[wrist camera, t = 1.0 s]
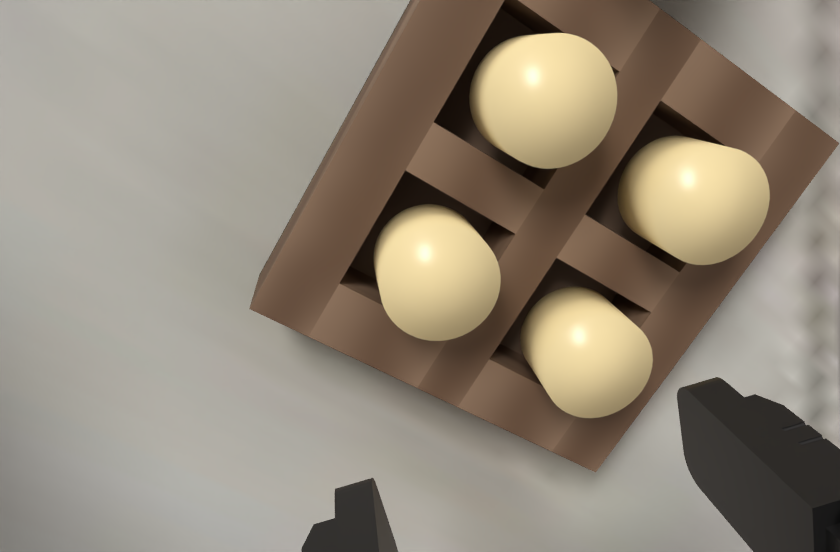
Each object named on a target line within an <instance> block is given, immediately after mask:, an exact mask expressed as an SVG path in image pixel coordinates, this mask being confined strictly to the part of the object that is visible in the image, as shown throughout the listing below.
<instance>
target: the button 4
mask: <svg viewBox="0 0 840 552" xmlns="http://www.w3.org/2000/svg"><path fill="white" fill-rule="evenodd" d="M617 199H618V207H619V211H620V214H621V216H622V218H623V220H624V222H625V223H626V225H627V226H628V227H629V228H630V229H631V230H632V231H633V232H635V233H636V234H637V235H639V236H641V237H642V238H644V239H646V240H647V241H649V242H651V243H652V244H654V245H656V246H657V247H659V248H661V249H663V250H664V251H666V252H668V253H669V254H671V255H673V256H674V257H676V258H678V259H680V260H682V261H684V262H687V263H690V264H695V265H711V264H715V263H719V262H722V261H725V260H727V259H729V258H731V257H733V256H734V255H736V254H738V253H739V252H740V251H742V250H743V249H744V248H745V247H746V246H747V245H748V244H749V243H750V242H751V241H752V240H753V239H754V238H755V236H756V235H757V233H758V232H759V230H760V229H761V227H762V225H763V223H764V220H765V218H766V215H767V211H768V208H769V200H770V190H769V183H768V180H767V177H766V174H765V172H764V170H763V168H762V167H761V165H760V164H759V163H758V162H757V161H756V160H755V159H754V158H753V157H752V156H751V155H749V154H747V153H746V152H744V151H741V150H739V149H735V148H731V147H727V146H722V145H718V144H714V143H710V142H706V141H702V140H698V139H693V138H689V137H685V136H667V137H662V138H659V139H656V140H654V141H652V142H650V143H648V144H647V145H645V146H644V147H642V148H641V149H640V150H639V151H638V152H637V153H636V154H635V155H634V156H633V157H632V158H631V160H630V161H629V162H628V164H627V165H626V167H625V169H624V171H623V173H622V175H621V178H620V181H619V186H618V195H617Z"/></svg>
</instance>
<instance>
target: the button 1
mask: <svg viewBox="0 0 840 552" xmlns="http://www.w3.org/2000/svg"><path fill="white" fill-rule="evenodd" d="M373 262H374V269H375V273H376V278H377V283H378V287H379V292H380V296H381V301H382V304H383V307H384V309H385V311H386V313H387V315H388V316H389V317H390V319H391V320H392V321H393V322H394V324H395V325H396V326H397V327H399V328H400V329H401V330H403V331H404V332H406V333H407V334H409V335H411V336H414V337H416V338H419V339H423V340H429V341H444V340H450V339H454V338H457V337H460V336H463V335H465V334H467V333H469V332H470V331H472V330H473V329H475V328H476V327H477V326H479V325H480V324H481V323H482V322H483V321H484V320H485V319H486V318H487V316H488V315H489V314H490V312H491V311H492V309H493V307H494V306H495V303H496V301H497V299H498V295H499V291H500V284H501V275H500V268H499V265H498V261H497V259H496V257H495V255H494V253H493V251H492V250H491V248H490V247H489V246H488V245H487V243H486V242H485V241H484V240H483V239H482V237H481V236H480V235H479V234H478V233H477V231H476V230H475V229H474V228H473V226H472V225H471V224H470V223H469V222H468V221H467V219H466V218H464V217H463V216H462V215H461V214H459V213H458V212H456V211H455V210H453V209H451V208H448V207H445V206H441V205H436V204H423V205H417V206H413V207H410V208H407V209H405V210H403V211H401V212H400V213H398V214H397V215H395V216H394V217H393V218H392V219H390V220H389V221H388V223H387V224H386V225H385V226H384V227H383V229H382V230H381V232H380V234H379V236H378V238H377V240H376V243H375V247H374V254H373Z"/></svg>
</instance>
